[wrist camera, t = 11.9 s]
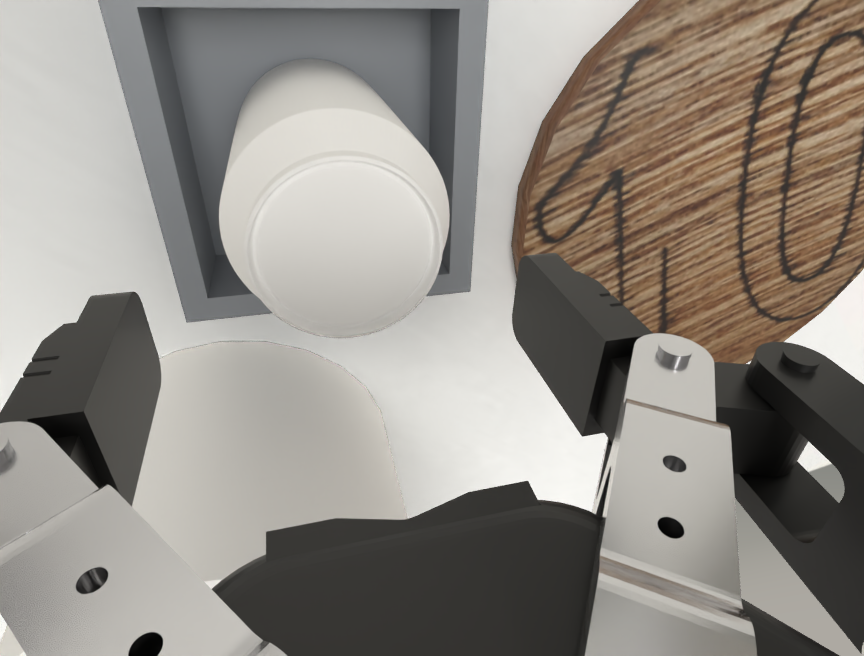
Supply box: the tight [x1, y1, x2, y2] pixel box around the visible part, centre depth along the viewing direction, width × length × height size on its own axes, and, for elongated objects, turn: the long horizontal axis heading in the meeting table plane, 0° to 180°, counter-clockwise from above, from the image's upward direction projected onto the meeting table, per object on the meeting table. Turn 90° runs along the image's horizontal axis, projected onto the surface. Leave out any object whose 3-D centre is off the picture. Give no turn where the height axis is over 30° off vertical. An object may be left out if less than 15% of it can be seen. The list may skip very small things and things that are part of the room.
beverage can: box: [219, 59, 450, 338], centre depth 18 cm, size 6×6×12 cm
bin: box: [98, 0, 488, 322], centre depth 22 cm, size 12×12×5 cm
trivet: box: [512, 0, 864, 364], centre depth 31 cm, size 25×25×2 cm
